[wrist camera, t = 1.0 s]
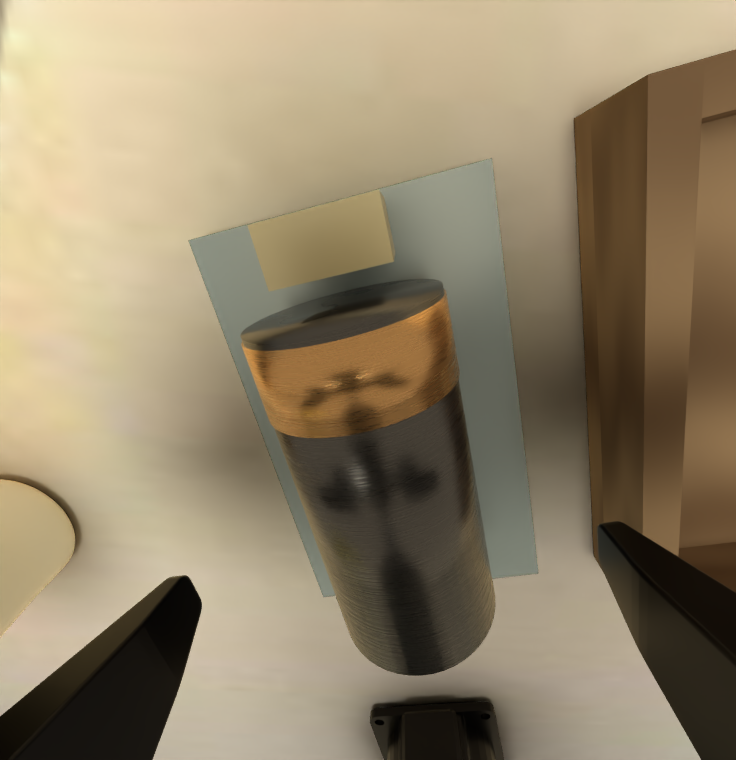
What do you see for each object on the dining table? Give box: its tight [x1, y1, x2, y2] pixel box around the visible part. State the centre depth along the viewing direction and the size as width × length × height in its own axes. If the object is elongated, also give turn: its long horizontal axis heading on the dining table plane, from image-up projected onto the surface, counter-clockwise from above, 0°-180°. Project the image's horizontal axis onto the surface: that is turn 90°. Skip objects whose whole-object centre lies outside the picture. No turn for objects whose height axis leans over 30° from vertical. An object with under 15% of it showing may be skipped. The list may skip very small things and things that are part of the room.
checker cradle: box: [189, 158, 538, 652], centre depth 13 cm, size 15×9×4 cm, turn 14°
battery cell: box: [240, 279, 495, 675], centre depth 11 cm, size 10×5×5 cm, turn 13°
